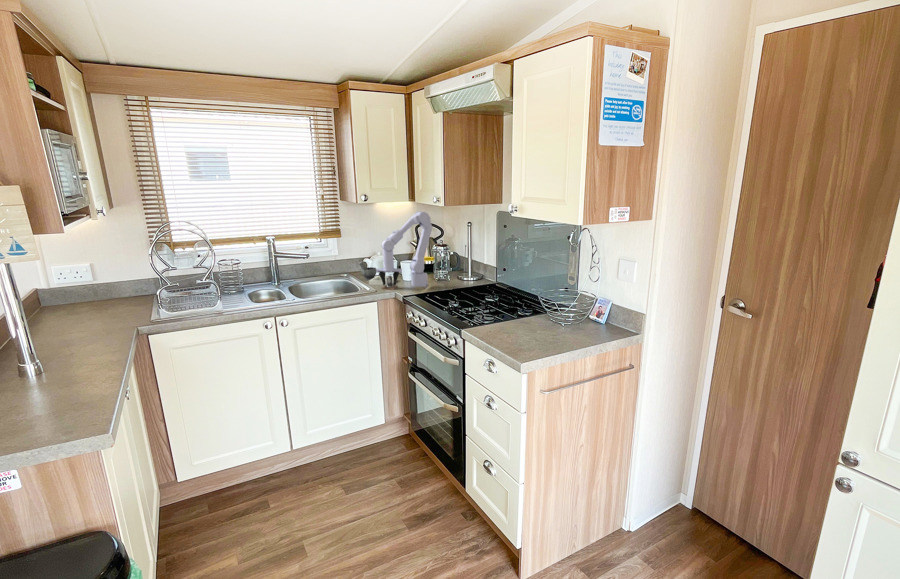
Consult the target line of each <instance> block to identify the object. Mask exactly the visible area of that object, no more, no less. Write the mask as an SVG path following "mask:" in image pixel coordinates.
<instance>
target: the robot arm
mask: <svg viewBox="0 0 900 579" xmlns="http://www.w3.org/2000/svg"><path fill="white" fill-rule="evenodd" d="M431 221H432V220H431V216H430V214H429V213H428V212H426V211H422V210H421V211H420V210H418V211H416V212H415V213H414V214H412V215H411V216H410V218H409V219H408V220H407V221H406V222H405V223H404V224H403V225H402V226H401V227H400V228H399V229H396V230H393V231H392V233H391V234H390V235H389V236H387V237H386V239H385V240H383V241H382V243H381V248H382V257H383V258H382V259H383V260H382V261H383V267H382V268H377V269H376V273H378V275H379V276H380V277H381V279H382V280H381V281H382V282H383V285H382V286H385V284H386V282H385V281H386V280H385V276H386V273H392V277H393V278H394V283H393V285H397V281H398V277H399V274H401V273H403V270H402V269H403V268H395V267H394V266H395V265H394V263H395V262H394V249H395V246H397V244H398V243H399V242H400V241H401V240H402V239H403V238H404V234H405V233H406V232H407V231H408V230H409V229H411V228H412V227H413V226H414V225H419V226H420V228H421V232H420V237H419V240H418V243H417V248H416V251H415V255H414V256H413V257H412V258H413V259H412V260H411V261H410V263H409V267H410V269H411V271H410V279H411V285H410V286H411V287H415V288H419V287H420V288H421V287H422V288H423V289H424V290H426V289H427V288H428V287H429V280H428V276H429V275H428V273H427V272H424V270H425V256H426V252H427V248H428V244H429V241H430V237H431V235H432V230H433V225H432V222H431Z"/></svg>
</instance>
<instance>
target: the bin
mask: <svg viewBox="0 0 900 579" xmlns="http://www.w3.org/2000/svg"><path fill="white" fill-rule="evenodd" d="M387 276H388V275H385V282H386V284H385V285H387ZM368 285H370V286H371V285H372V286H373V285H376V286H377V285H378V286H385V285H383V282H382V279H381V277H380V276H378V275H375V276H374V278H373V279H371V280H368ZM392 285H394V278H393V276H392Z"/></svg>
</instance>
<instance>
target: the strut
mask: <svg viewBox="0 0 900 579" xmlns="http://www.w3.org/2000/svg"><path fill="white" fill-rule="evenodd" d="M386 276H387V280H386V281H387V285H386V288H393V285H394V284H392V277H393V275H386Z"/></svg>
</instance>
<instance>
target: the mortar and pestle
mask: <svg viewBox="0 0 900 579" xmlns="http://www.w3.org/2000/svg"><path fill="white" fill-rule="evenodd" d="M358 266H360V267H361V274H362V276H363V277H364V280H365V281H369V280H371V279H373V278H375V277H376V276H377V272H376V269H378V268H377V267H373V266H372V267H367V266H366V265H365V264H364V261H361V260H360V262H358Z"/></svg>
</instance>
